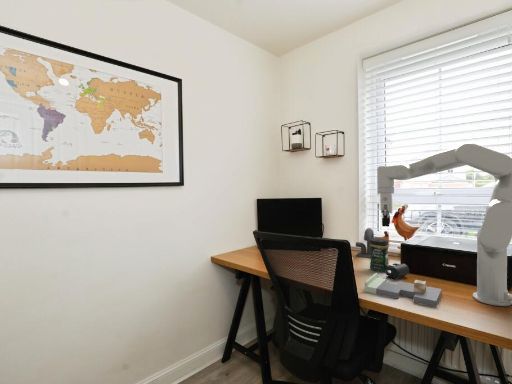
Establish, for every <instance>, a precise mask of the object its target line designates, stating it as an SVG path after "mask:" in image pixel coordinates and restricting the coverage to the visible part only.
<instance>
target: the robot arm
mask: <svg viewBox="0 0 512 384" xmlns="http://www.w3.org/2000/svg"><path fill="white" fill-rule="evenodd" d="M464 166H469V167H471V168H474V169H476V170H479V171H482V172H484V173H487V174H489V175H491V176H492V177H494V187H493V191H492V193H491V197H490V200H489V202H488V203H487V206H486V209H485V216H484V219H483V222H482V225H481V227H480V228H479V229H478V230H477V233H476V250H477V251H476V252H477V253H476V254H477V259H476V292H473V293H472V298H473V299H474V300H476V301H478V302H480V303H483V304H485V305H490V306H495V307H496V306H497V307H509V306H511V305H512V294H511V293H509V291H508V285H507V283H508V281H507V279H508V275H507V274H508V249H507V248H508V247H509V245H510V243H511V240H512V157H511V156H509V155H508V154H504V153H502V152H498V151H496V150H493V149H490V148H487V147H484V146H481V145H479V144H475V143H473V142H465V143H462V144H461V145H459V146H457V147H453V148H450V149H447V150H443V151H439V152H436V153H435V152H434V153H432V154H430V155H429V156H427V157H425V158H423V159H420V160H417V161H413V162H411V163H405V164H403V163H401V164H395V165H379V166H378V167H377V169H376V173H377V178H376V179H377V180H376V181H377V182H376V183H377V194H379V195H380V196H379V203H380V205H379V206H380V214H382V216H381V226H382V227H390V224H391V216H390V214H391V215H392V214H393V194H395V180H396V181H407V180H411V179H416V178H419V177H422V176H427V175H431V174H436V173H441V172H444V171H448V170H452V169H457V168H460V167H464Z"/></svg>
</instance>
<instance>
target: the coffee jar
mask: <svg viewBox="0 0 512 384" xmlns="http://www.w3.org/2000/svg"><path fill="white" fill-rule="evenodd" d="M370 247H371V259H370V261H369V269H370V271H374V272H376V273H386V272H389V271H390V270H386V266H388V265H390V263H389V254H388V253H389V247H390V242H389V239H388V238H382V237H376V236H374V237H373V238H371V240H370Z"/></svg>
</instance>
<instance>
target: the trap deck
mask: <svg viewBox="0 0 512 384" xmlns="http://www.w3.org/2000/svg"><path fill="white" fill-rule="evenodd" d="M378 273H379V272H375V273H374V274H372V275H371V276H370V277H369V278H368V279H366V280H365V281H364V292H365V293H370V294H373V295H378V296H379V295H380V296H383V297H388V298H391V299H397V300H399V298H400V297H401V296H404V297H408V298H412V299H413V303H415V304H420V305H424V306H427V307H433V308H437V306H438V304H439V302H440V300H441V297H442V294H443V293H442V292H443V289H442V288H437V287H433V286H427V285H426V292H425V294H424V293H419V292H414V283H410V282H407V281H406V282H405V281H400V280H399V281H398V282H397V283H392V282H387V278H383V277H378V275H379V274H378Z"/></svg>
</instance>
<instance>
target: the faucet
mask: <svg viewBox="0 0 512 384" xmlns="http://www.w3.org/2000/svg"><path fill="white" fill-rule="evenodd" d="M373 237H375V234H374V230H373V229H372V228H370V227H368V228H366V229H365V230H364V234H363V240H364V241H366V244H365V243H364V242H359V241H356V242H355V247H356V248H360V251H358V253H356V255H355V258H363V259H370V260H371V247H370V240H371V238H373Z"/></svg>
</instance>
